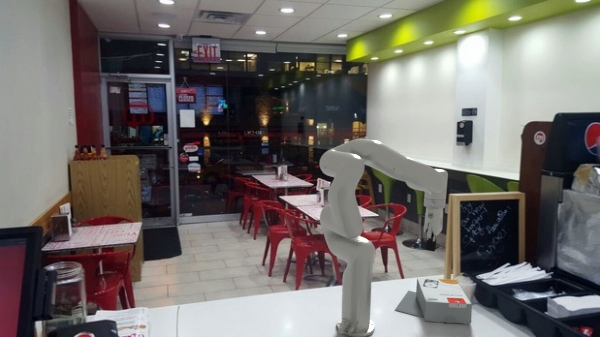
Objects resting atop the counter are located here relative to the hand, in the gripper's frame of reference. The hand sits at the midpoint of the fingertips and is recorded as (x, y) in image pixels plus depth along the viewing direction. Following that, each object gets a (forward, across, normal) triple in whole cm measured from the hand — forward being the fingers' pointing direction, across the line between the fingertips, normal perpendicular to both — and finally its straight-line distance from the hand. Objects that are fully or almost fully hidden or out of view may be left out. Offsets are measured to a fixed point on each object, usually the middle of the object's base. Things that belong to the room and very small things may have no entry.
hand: (430, 250), depth 151 cm
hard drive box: (+16, +6, -2) cm, 17 cm away
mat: (+21, -4, -1) cm, 21 cm away
